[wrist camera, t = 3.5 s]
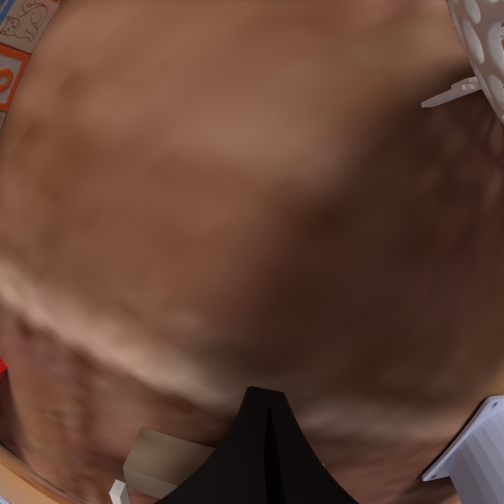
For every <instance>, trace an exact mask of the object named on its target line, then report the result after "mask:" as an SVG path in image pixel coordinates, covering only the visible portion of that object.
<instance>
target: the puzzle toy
mask: <svg viewBox="0 0 504 504" xmlns="http://www.w3.org/2000/svg"><path fill="white" fill-rule="evenodd" d="M6 368H7V366H6V365H5V364H4V363H3V361H2V360H1V359H0V380H1V378H2V376H3V374H4V372H5V370H6Z"/></svg>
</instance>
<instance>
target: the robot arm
mask: <svg viewBox="0 0 504 504" xmlns="http://www.w3.org/2000/svg"><path fill="white" fill-rule="evenodd" d="M447 476H450V478H451V480H452V482H453V484H454V487H455V489H456V491H457V493H458V496H459V498H460V500H461V502H462V504H504V395H501V396H491V397H489V398H487V399H486V400H485V401H484V402H483V404H482V405H481V407H480V408H479V410H478V411H477V412H476V414H475V415H474V416H473V418H472V419H471V420H470V422H469V423H468V424H467V426H466V427H465V428H464V430H463V431H462V432H461V433H460V435H459V436H458V437H457V438H456V439H455V441H454V442H453V443H452V444H451V445H450V446H449V448H448V449H447V450H446V451H445V452H444V453H443V454H442V455H441V457H440V458H439V459H438V460H437V461H436V462H435V463H434V464H433V465H432V466H431V467H430V468H429V469H428V470H427V471H426V472H425V473H424V474H423V475H422V480H423V481H428V480H433V479H438V478H442V477H447ZM0 504H11V503H9V502H8V501H7V500H5V499H4V498H3V497H2V496H0ZM155 504H359V503H358V502H357V501H356V500H354V499H353V498H352V497H351V496H350V495H349V494H348V493H347V492H346V491H345V490H344V489H343V488H342V487H341V486H340V485H339V484H338V483H337V482H336V481H335V480H334V478H333V477H332V476H331V475H330V474H329V472H328V471H327V470H326V469H325V467H324V466H323V465H322V463H321V462H320V460H319V459H318V458H317V456H316V455H315V453H314V451H313V450H312V448H311V447H310V445H309V443H308V442H307V440H306V438H305V436H304V434H303V433H302V431H301V429H300V427H299V425H298V423H297V421H296V419H295V417H294V415H293V412H292V410H291V408H290V406H289V403H288V401H287V398H286V396H285V394H284V392H279V391H273V390H268V389H263V388H258V387H254V386H250V387H247V389H246V392H245V395H244V398H243V401H242V404H241V407H240V410H239V413H238V416H237V418H236V419H235V421H234V423H233V425H232V426H231V428H230V429H229V431H228V432H227V434H226V435H225V437H224V438H223V440H222V441H221V442H220V444H219V445H218V446H217V448H216V449H215V450H214V451H213V453H212V454H211V455H210V456H209V457H208V458H207V459H206V461H205V462H204V463H203V464H202V465H201V466H200V467H199V468H198V469H197V470H196V471H195V472H194V473H193V474H192V475H191V476H190V477H188V478H187V479H186V480H185V481H184V482H183V483H181V484H180V485H179V486H178V487H177V488H175V489H174V490H173V491H172V492H170V493H169V494H168V495H166V496H165V497H163V498H162V499H160V500H159V501H158V502H156V503H155Z"/></svg>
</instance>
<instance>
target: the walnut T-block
mask: <svg viewBox="0 0 504 504" xmlns="http://www.w3.org/2000/svg"><path fill="white" fill-rule="evenodd" d="M215 449H216V448H212V447H208V446H204V445H200V444H196V443H193V442H189V441H185V440H182V439H178V438H175V437H172V436H169V435H166V434H162V433H159V432H156V431H153V430H151V429H148V428H145V427H142V428H141V430H140V432H139V434H138V436H137V438H136V440H135V443H134V445H133V447H132V449H131V451H130V453H129V455H128V457H127V459H126V461H125V463H124V465H123V471H124V477H125V482H126V487H127V488H130V489H133V490H135V491H138V492H141V493H144V494H146V495H149V496H152V497H155V498H159V499H162V498H163V497H165V496H166V495H168V494H169V493H170V492H172V491H173V490H174V489H175V488H177V487H178V486H179V485H180V484H181V483H183V482H184V481H185V480H186V479H187V478H188V477H190V476H191V475H192V474H193V473H194V472H195V471H196V470H197V469H198V468H199V467H200V466H201V465H202V464H203V463H204V462H205V461H206V459H207V458H208V457H209V456H210V455H211V454H212V453H213V451H214V450H215ZM322 465H323V466H324V467H325V464H324V463H322Z"/></svg>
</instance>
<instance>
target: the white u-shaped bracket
mask: <svg viewBox="0 0 504 504" xmlns="http://www.w3.org/2000/svg"><path fill="white" fill-rule="evenodd" d="M110 496H111V499H112V502H113V504H130V501H129V497H128V492H127V487H126V483H124V482H121V481H119V480H115V482H114V484H113V487H112V489H111V491H110Z"/></svg>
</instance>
